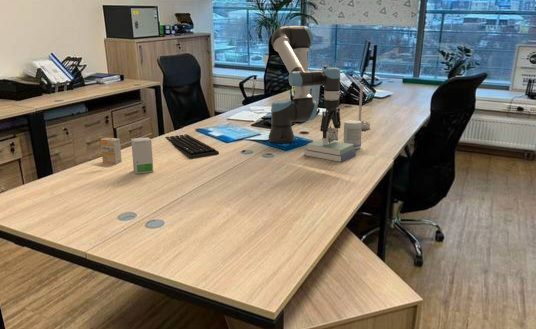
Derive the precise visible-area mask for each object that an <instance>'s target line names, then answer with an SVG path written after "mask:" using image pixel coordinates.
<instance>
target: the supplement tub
mask: <svg viewBox="0 0 536 329" xmlns="http://www.w3.org/2000/svg"><path fill="white" fill-rule="evenodd" d="M361 121H362V120H361ZM361 121H359V120H354V119H353V120H351V119H350V120H345V121H344V122H343V123H344V125H343V143H349V144H354V150H358V149H361V148H362V131H363V130H362V122H361Z"/></svg>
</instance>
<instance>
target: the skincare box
mask: <svg viewBox="0 0 536 329" xmlns="http://www.w3.org/2000/svg"><path fill="white" fill-rule="evenodd" d="M130 140H131V141H130V142H131V153H132V166H133V168H132V169H133V172H134V173H135V174H136V175H137V174H148V173H154V163H153V162H154V161H153V160H154V159H153V158H154V157H153V147H152V145H153V144H152V139H151V138H150V137H136V138H131V139H130Z"/></svg>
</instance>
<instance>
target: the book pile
mask: <svg viewBox="0 0 536 329" xmlns="http://www.w3.org/2000/svg"><path fill="white" fill-rule="evenodd" d="M356 151H357V149H354V144H349V143H344V141H342V142H341V141H336V140H334V141H332V142H330V144H329V142H328V145H326V144H323V139H322V138H320V139H317V140H314V141H311V142H309V143H306V148H305V149H304V151H303V152H304V154H303V155H304V156H307V157H312V158H317V159H322V160H328V161H334V162H340V163H342V162H345V161H347V160H349V159H351V158H353V157H356V154H357V152H356Z"/></svg>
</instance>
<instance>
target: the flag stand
mask: <svg viewBox="0 0 536 329" xmlns="http://www.w3.org/2000/svg"><path fill="white" fill-rule="evenodd" d="M364 87H365V85H364V84H362V83H361V84H359V86H358V88H359V106H358V121H361V122H362V131H364V130H368V129H369V128H371V122H369V121H364V120H362V110H363V109H362V108H363V105H362V104H363V91H364Z"/></svg>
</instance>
